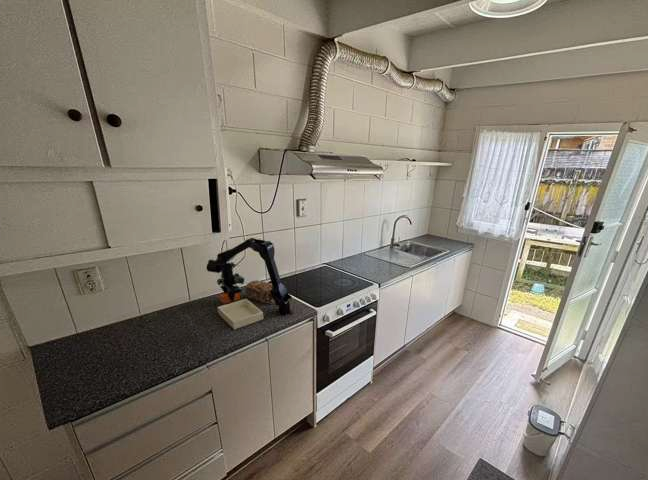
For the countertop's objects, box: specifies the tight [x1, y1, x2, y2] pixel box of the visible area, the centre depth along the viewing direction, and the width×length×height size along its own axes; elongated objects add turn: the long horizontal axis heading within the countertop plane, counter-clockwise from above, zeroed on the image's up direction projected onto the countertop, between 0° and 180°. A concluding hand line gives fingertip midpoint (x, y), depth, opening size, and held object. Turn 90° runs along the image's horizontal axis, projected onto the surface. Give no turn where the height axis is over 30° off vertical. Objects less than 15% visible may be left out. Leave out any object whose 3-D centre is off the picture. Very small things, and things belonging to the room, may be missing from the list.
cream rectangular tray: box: [217, 298, 264, 330], centre depth 155 cm, size 20×16×5 cm
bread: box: [244, 280, 276, 305], centre depth 175 cm, size 19×11×10 cm, turn 68°
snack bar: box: [219, 293, 241, 304], centre depth 166 cm, size 4×9×4 cm, turn 134°
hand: (230, 299), depth 167 cm, fingers closed on snack bar, 4 cm apart
